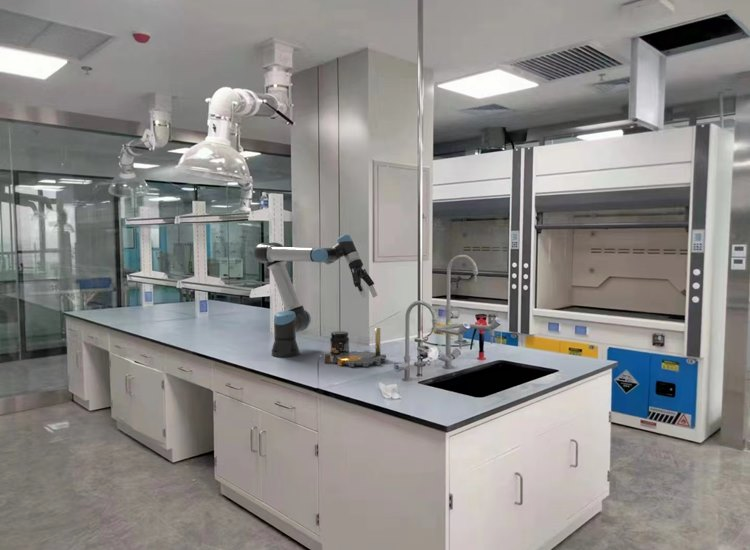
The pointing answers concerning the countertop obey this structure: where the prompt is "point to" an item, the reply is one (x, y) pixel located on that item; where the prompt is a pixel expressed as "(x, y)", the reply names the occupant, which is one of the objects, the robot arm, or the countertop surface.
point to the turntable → (362, 356)
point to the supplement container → (339, 342)
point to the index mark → (327, 358)
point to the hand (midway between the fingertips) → (370, 296)
